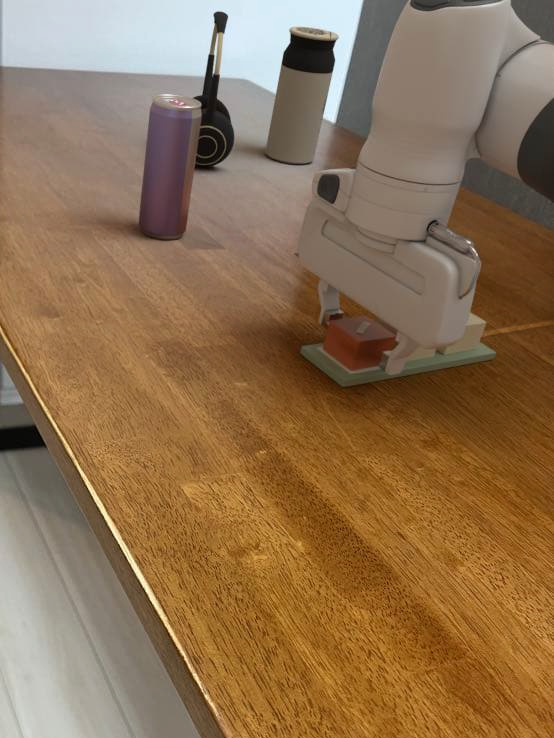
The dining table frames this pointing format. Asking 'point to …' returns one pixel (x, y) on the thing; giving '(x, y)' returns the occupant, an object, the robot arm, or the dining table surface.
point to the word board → (416, 363)
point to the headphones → (214, 107)
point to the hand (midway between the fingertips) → (357, 348)
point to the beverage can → (169, 165)
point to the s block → (357, 342)
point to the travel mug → (301, 95)
